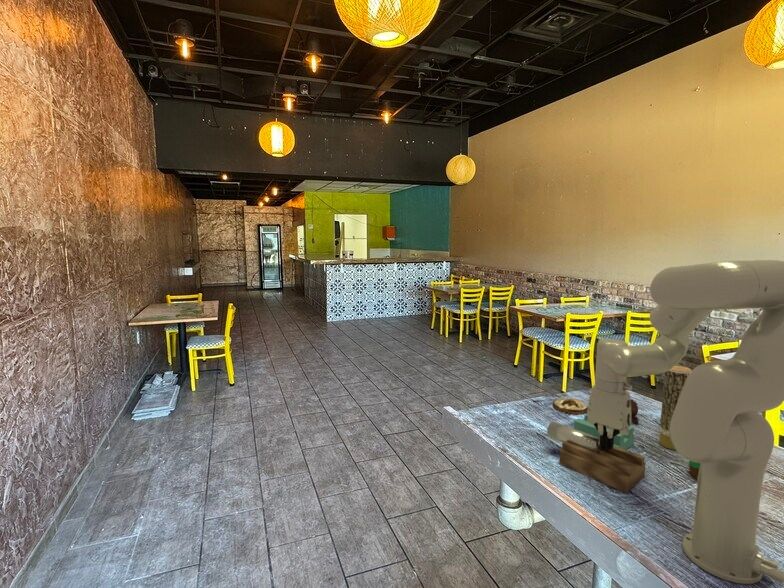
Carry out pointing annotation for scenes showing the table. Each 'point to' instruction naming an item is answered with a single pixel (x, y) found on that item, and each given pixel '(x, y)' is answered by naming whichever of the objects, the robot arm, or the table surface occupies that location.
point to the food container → (694, 469)
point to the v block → (619, 440)
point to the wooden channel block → (605, 465)
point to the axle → (573, 437)
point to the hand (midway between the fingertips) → (606, 448)
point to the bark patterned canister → (671, 400)
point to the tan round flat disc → (570, 406)
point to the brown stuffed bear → (634, 411)
